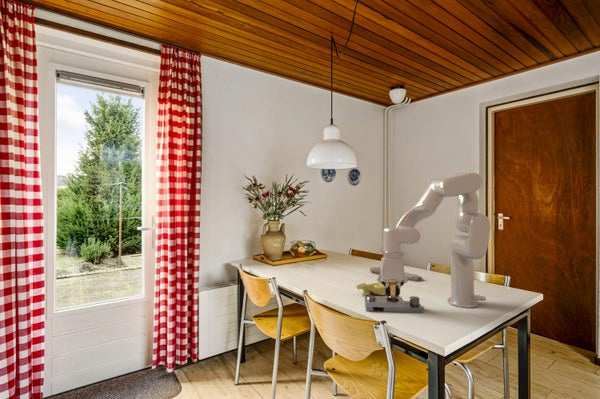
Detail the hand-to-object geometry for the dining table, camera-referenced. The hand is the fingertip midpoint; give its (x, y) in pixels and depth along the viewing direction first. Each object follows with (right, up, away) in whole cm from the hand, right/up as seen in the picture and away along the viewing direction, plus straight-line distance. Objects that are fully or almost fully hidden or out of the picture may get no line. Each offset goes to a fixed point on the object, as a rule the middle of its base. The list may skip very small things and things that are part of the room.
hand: (392, 295), depth 144 cm
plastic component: (-3, -6, +23) cm, 24 cm away
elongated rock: (+18, -5, +57) cm, 60 cm away
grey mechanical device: (0, -6, 0) cm, 6 cm away
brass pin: (0, -3, 0) cm, 3 cm away
